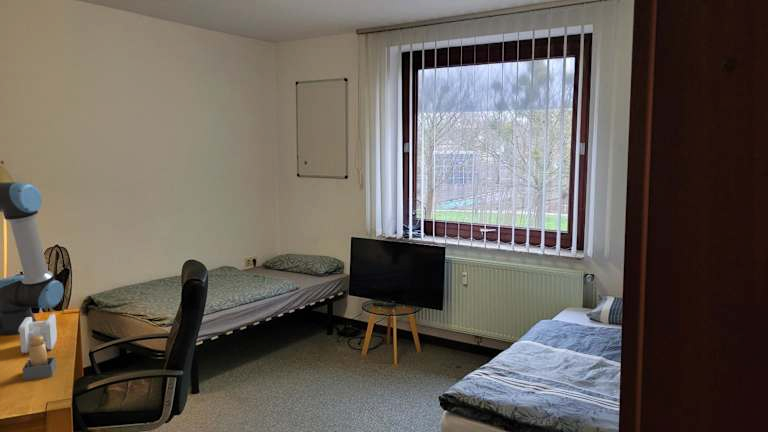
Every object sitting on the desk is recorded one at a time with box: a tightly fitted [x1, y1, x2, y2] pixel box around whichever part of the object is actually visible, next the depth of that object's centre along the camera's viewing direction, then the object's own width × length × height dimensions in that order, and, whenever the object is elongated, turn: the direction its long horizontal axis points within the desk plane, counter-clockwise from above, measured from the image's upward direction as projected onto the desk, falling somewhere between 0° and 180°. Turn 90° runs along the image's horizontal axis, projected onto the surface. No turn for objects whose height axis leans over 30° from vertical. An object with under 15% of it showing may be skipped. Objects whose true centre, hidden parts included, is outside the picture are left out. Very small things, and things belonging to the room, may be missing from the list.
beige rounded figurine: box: [28, 335, 48, 367], centre depth 197 cm, size 5×5×12 cm
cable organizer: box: [18, 313, 58, 354], centre depth 223 cm, size 15×11×12 cm
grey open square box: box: [22, 356, 57, 381], centre depth 197 cm, size 8×8×4 cm
